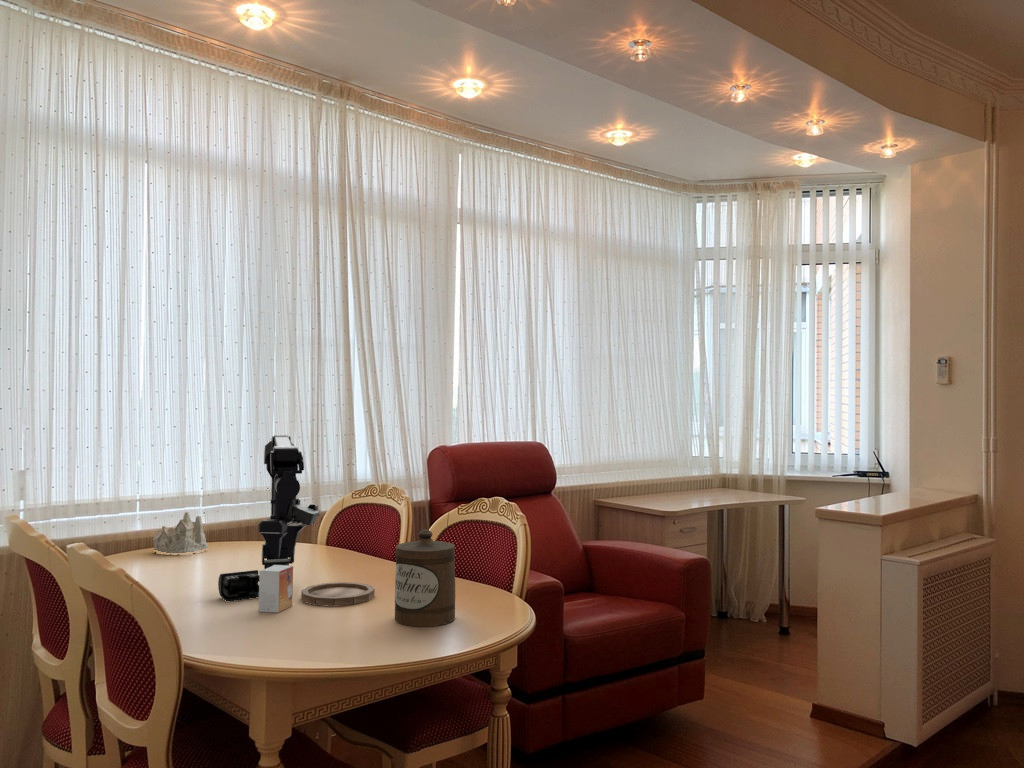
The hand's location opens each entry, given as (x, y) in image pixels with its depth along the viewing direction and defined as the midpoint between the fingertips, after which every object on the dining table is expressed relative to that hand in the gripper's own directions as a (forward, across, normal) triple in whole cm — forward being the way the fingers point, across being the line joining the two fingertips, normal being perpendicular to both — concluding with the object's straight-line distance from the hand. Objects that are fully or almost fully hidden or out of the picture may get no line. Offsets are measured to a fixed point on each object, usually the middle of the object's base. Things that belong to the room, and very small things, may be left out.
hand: (284, 555), depth 211 cm
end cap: (+14, +9, +16) cm, 23 cm away
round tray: (+13, +13, -10) cm, 21 cm away
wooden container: (+14, -4, -39) cm, 41 cm away
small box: (+14, -1, +1) cm, 14 cm away
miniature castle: (+13, +68, +67) cm, 97 cm away
